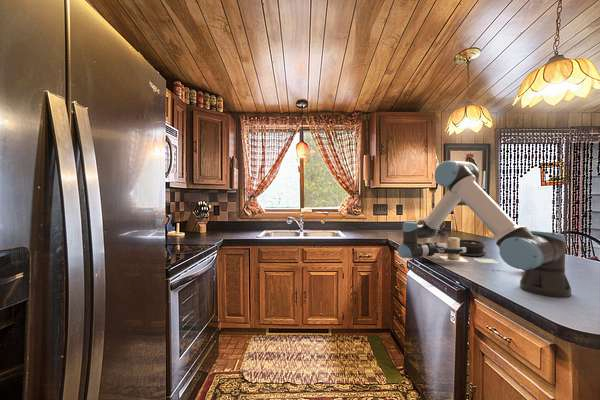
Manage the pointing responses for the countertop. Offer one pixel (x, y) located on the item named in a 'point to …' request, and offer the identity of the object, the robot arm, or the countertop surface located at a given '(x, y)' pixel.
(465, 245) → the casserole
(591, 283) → the countertop surface
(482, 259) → the sage pad
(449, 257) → the maple post
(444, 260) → the board
